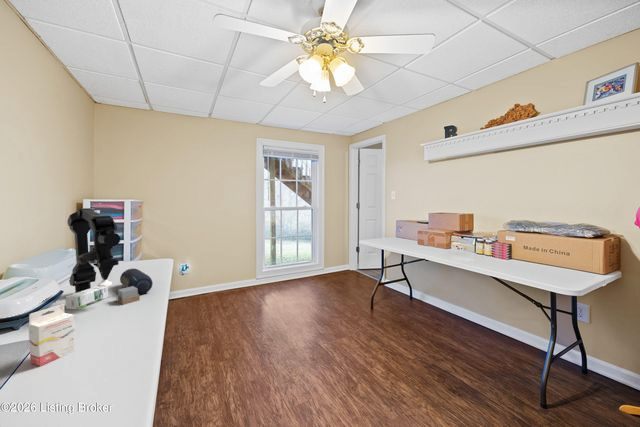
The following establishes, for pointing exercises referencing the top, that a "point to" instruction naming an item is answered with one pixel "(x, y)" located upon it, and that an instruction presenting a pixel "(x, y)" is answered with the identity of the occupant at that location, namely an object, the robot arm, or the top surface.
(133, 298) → the walnut base block
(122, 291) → the slate top block
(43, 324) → the ink cartridge box
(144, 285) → the portable speaker
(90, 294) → the syrup box
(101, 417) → the top surface
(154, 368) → the top surface
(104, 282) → the chess piece
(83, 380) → the top surface
